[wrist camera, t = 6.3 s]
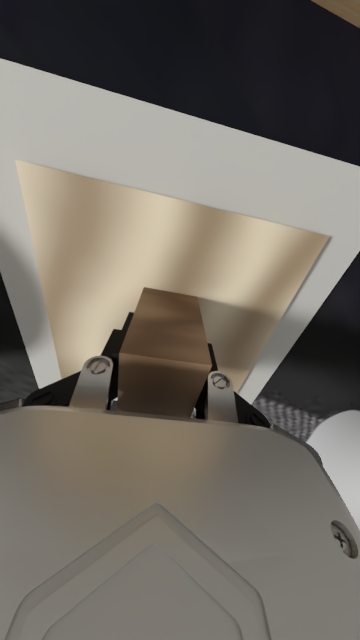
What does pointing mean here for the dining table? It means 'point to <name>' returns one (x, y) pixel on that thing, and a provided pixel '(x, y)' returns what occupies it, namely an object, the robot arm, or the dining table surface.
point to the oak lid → (158, 283)
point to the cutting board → (343, 9)
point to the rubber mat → (164, 191)
